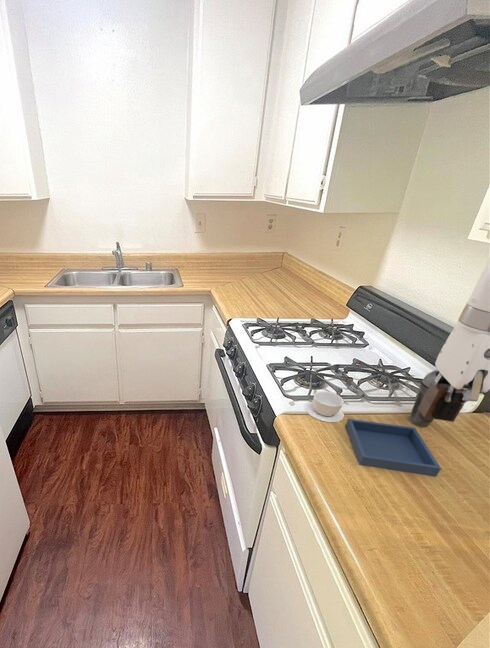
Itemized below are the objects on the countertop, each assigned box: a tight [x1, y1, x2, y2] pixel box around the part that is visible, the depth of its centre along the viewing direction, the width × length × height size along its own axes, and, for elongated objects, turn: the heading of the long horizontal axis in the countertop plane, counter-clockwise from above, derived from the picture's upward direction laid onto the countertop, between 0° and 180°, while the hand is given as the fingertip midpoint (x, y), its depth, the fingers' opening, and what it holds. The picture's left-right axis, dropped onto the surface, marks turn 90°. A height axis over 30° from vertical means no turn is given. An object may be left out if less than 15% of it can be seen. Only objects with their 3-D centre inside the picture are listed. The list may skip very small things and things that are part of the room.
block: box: [418, 382, 465, 423], centre depth 64 cm, size 5×3×6 cm, turn 77°
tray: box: [344, 418, 442, 478], centre depth 81 cm, size 16×15×3 cm
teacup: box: [304, 390, 345, 423], centre depth 93 cm, size 10×10×5 cm
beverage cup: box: [408, 369, 437, 428], centre depth 86 cm, size 7×7×20 cm
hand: (437, 411), depth 66 cm, fingers closed on block, 3 cm apart
